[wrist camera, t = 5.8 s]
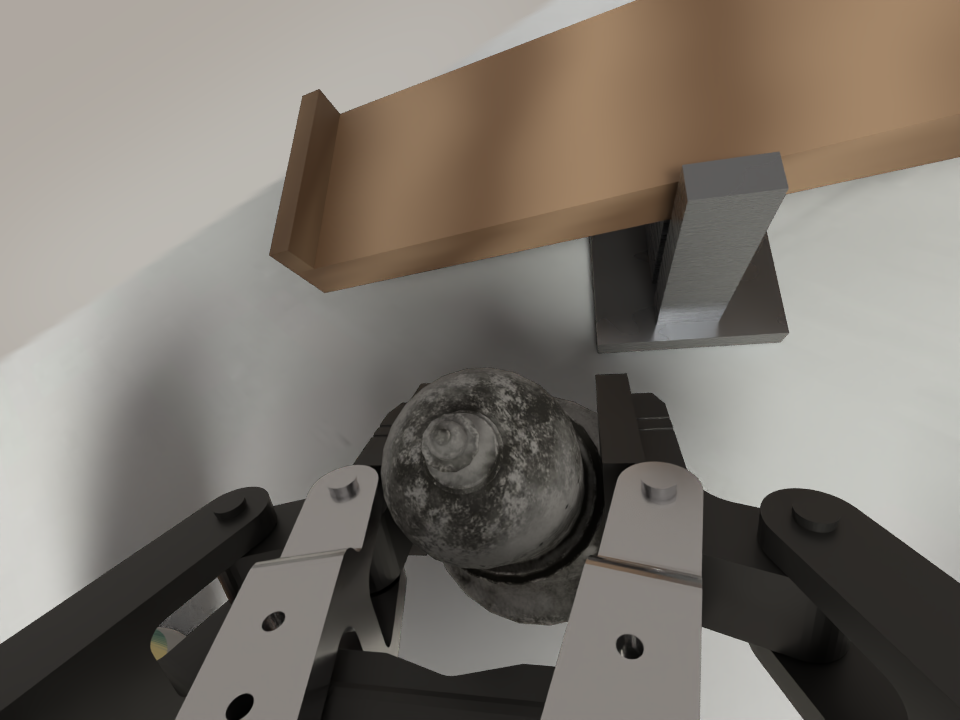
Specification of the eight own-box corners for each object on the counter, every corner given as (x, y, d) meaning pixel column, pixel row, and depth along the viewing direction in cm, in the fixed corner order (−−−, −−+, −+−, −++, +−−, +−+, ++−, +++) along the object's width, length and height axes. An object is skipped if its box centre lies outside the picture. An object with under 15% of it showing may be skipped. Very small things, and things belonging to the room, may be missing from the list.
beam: (324, 293, 18) (269, 255, 16) (347, 147, 20) (302, 96, 18) (1543, 31, 8) (1875, -172, 6) (1304, -188, 11) (1470, -391, 8)
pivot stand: (598, 353, 18) (596, 234, 11) (582, 124, 21) (574, -69, 15) (780, 342, 16) (907, 198, 10) (728, 100, 20) (793, -124, 13)
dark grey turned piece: (440, 461, 17) (177, 322, 7) (590, 397, 17) (577, 136, 6) (497, 637, 15) (234, 878, 4) (674, 567, 15) (896, 631, 4)
